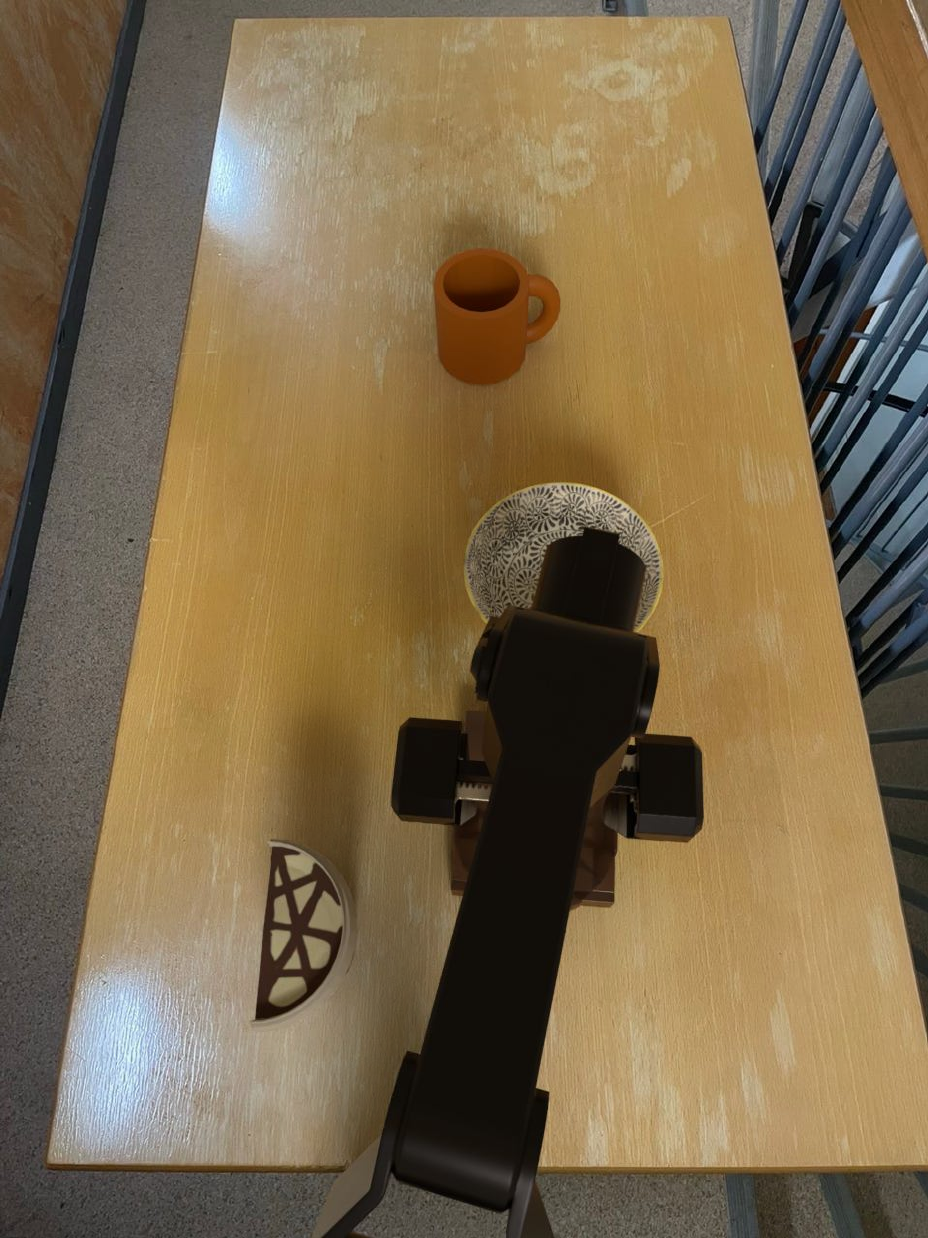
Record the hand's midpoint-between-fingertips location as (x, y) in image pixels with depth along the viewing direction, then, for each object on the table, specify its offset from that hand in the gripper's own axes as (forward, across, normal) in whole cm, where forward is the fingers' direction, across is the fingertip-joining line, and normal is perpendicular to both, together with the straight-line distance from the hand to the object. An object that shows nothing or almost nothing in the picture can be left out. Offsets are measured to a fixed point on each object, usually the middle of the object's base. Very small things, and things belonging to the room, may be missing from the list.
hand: (539, 809), depth 64 cm
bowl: (+8, -1, -20) cm, 22 cm away
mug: (+8, +6, -48) cm, 49 cm away
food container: (+8, +15, +9) cm, 19 cm away
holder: (+8, 0, -2) cm, 8 cm away
